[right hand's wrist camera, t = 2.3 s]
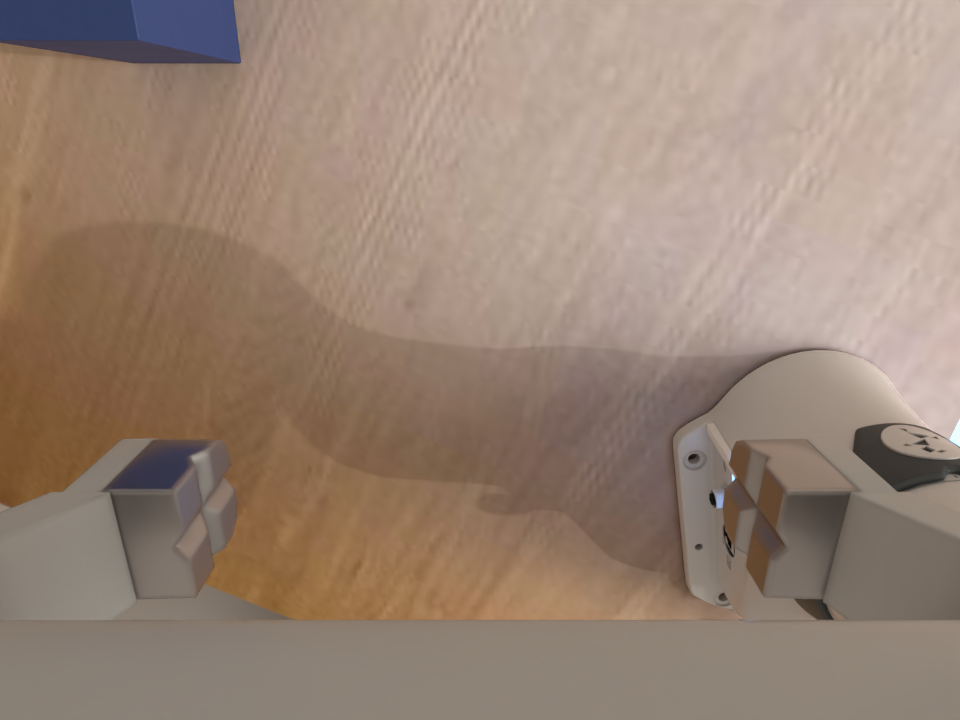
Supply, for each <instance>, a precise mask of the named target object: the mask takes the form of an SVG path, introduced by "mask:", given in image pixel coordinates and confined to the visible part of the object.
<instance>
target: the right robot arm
mask: <svg viewBox="0 0 960 720" xmlns="http://www.w3.org/2000/svg"><path fill="white" fill-rule="evenodd" d="M673 454H674V465H675V475H676V486H677V497H678V507H679V518H680V529H681V539H682V550H683V561H684V571H685V581H686V585H687V587H688V588H689V590H690V592H691V593H692V594H693V595H694V596H696V597H697V598H699V599H701V600H703V601H705V602H707V603H710V604H712V605H715V606H719V607H723V608H727V609H732V610H735V611H736V612H737V613H738V614H739V615H740V616H741V617H742V618H743V619H745V620H114V619H115V618H116V617H118V616H119V615H120V614H122V613H123V612H124V611H126V610H127V609H129V608H130V607H131V606H133V605H134V604H135V603H137V599H168V598H196V597H197V595H198V593H199V592H200V590H201V588H202V587H203V585H204V583H205V582H206V580H207V578H208V577H209V575H210V573H211V572H212V570H213V568H214V562H213V555H214V554H216V553H217V552H219V551H221V550H222V549H224V548H226V546H227V544H228V543H229V541H230V539H231V537H232V535H233V532H234V528H235V524H236V519H237V498H236V492H235V488H234V487H233V486H232V485H231V484H230V483H229V482H228V481H227V480H226V479H225V478H224V475H225V474H226V472H227V470H228V469H229V467H230V466H231V462H230V458H229V453H228V448H227V446H226V445H225V443H224V442H223V441H222V440H204V439H157V438H138V439H121V440H120V441H119V442H118V443H117V444H116V445H115V446H114V447H112V448H111V449H110V450H109V451H108V452H107V453H106V454H105V455H103V456H102V457H101V458H100V459H99V460H98V461H97V462H96V463H94V464H93V465H92V466H91V467H90V468H89V469H88V470H87V471H85V472H84V473H83V474H82V475H81V476H80V477H79V478H78V479H76V480H75V481H74V482H73V483H72V484H71V485H70V486H69V487H67V488H66V489H65V490H64V491H63V492H50V493H48V494H45V495H43V496H40V497H38V498H35V499H33V500H30V501H28V502H25V503H23V504H20V505H17V506H15V507H12V508H10V509H7V510H5V511H2V512H0V720H960V420H959V422H958V424H957V426H956V428H955V430H954V432H953V434H952V436H951V438H950V440H948V439H947V438H945V437H943V436H941V435H939V434H937V433H935V432H933V431H932V430H931V429H930V428H929V427H928V426H927V425H926V424H925V423H924V422H923V421H922V420H921V419H920V418H919V417H918V416H917V415H916V414H915V413H914V411H913V410H912V409H911V408H910V407H909V406H908V405H907V403H906V402H905V401H904V400H903V398H902V397H901V396H900V394H899V393H898V392H897V390H896V389H895V387H894V386H893V384H892V383H891V381H890V380H889V379H888V378H887V376H886V375H885V374H884V373H883V372H882V371H881V370H880V369H878V368H877V367H876V366H875V365H873V364H871V363H870V362H868V361H866V360H864V359H862V358H860V357H858V356H855V355H852V354H849V353H845V352H839V351H832V350H812V351H804V352H798V353H794V354H790V355H786V356H783V357H780V358H777V359H775V360H773V361H770V362H768V363H766V364H764V365H762V366H760V367H759V368H757V369H755V370H754V371H752V372H751V373H749V374H748V375H746V376H745V377H744V378H743V379H741V380H740V381H739V382H738V383H737V384H735V385H734V386H733V387H732V388H731V389H730V390H729V391H728V393H727V394H726V395H725V396H724V397H723V398H722V399H721V400H720V402H719V403H718V404H717V405H716V406H715V407H714V408H713V409H712V410H710V411H709V412H708V413H706V414H704V415H702V416H700V417H698V418H697V419H695V420H693V421H691V422H689V423H688V424H686V425H685V426H683V427H682V428H680V429H679V430H678V431H677V432H676V434H675V435H674V438H673ZM692 454H697V455H696V457H695V458H693V459H688V457H689V456H690V455H692ZM721 593H724V594H721ZM720 594H721V595H720Z"/></svg>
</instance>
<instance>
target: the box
mask: <svg viewBox="0 0 960 720" xmlns="http://www.w3.org/2000/svg"><path fill="white" fill-rule="evenodd" d="M0 43H7V44H13V45H20V46H26V47H33V48H39V49H46V50H52V51H59V52H65V53H72V54H78V55H85V56H91V57H98V58H104V59H110V60H117V61H123V62H130V63H241V60H240V52H239V44H238V36H237V28H236V20H235V12H234V4H233V0H0Z"/></svg>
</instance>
